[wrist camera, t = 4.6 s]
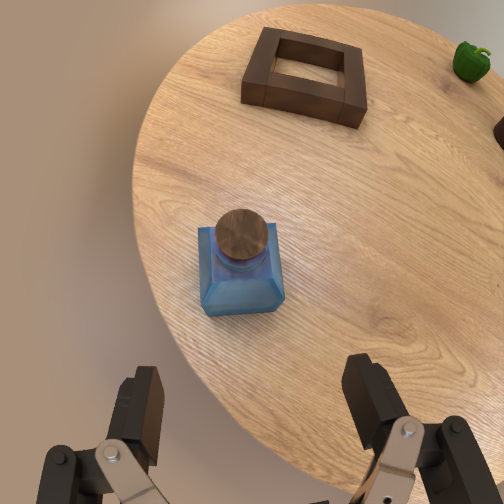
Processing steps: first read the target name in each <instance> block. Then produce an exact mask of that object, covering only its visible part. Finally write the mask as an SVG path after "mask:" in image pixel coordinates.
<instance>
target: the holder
mask: <svg viewBox="0 0 504 504" xmlns="http://www.w3.org/2000/svg"><path fill="white" fill-rule="evenodd" d="M277 57H280V58H285V59H290V60H295V61H300V62H305V63H309V64H313V65H318V66H322V67H326V68H330V69H333V70H337V71H338V87H337V86H333V85H329V84H325V83H321V82H317V81H313V80H309V79H304V78H300V77H295V76H290V75H285V74H280V73H275V72H273V70H274V67H275V63H276V60H277ZM241 103H243V104H250V105H255V106H261V107H267V108H272V109H277V110H282V111H287V112H292V113H296V114H301V115H305V116H309V117H314V118H318V119H322V120H326V121H330V122H333V123H337V124H341V125H344V126H348V127H351V128H355V129H358V127H359V125H360V123H361V121H362V119H363V117H364V115H365V113H366V111H367V99H366V87H365V76H364V66H363V57H362V49H360V48H357V47H353V46H350V45H347V44H343V43H339V42H335V41H332V40H328V39H324V38H320V37H315V36H311V35H306V34H302V33H297V32H292V31H286V30H281V29H275V28H269V27H264V28H263V30H262V32H261V35H260V37H259V39H258V42H257V44H256V47H255V49H254V51H253V54H252V56H251V59H250V61H249V64H248V66H247V69H246V71H245V74H244V76H243V79H242V85H241Z"/></svg>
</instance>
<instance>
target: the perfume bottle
mask: <svg viewBox="0 0 504 504" xmlns="http://www.w3.org/2000/svg"><path fill="white" fill-rule="evenodd" d="M198 248H199V274H200V295H201V306H202V308H203V309H204V311H205V313H206V314H207V316H223V315H237V314H250V313H262V312H274V311H275V310H276V309H277V308H278V307H279V306H280V305H281V303H282V302H283V301H284V300H285V296H284V287H283V278H282V270H281V262H280V254H279V246H278V238H277V230H276V223H266V222H265V221H264V219H263V218H262V217H261V216H260V215H258V214H257V213H256V212H253V211H251V210H248V209H236V210H232V211H230V212H228V213H226V214H224V215H223V216H222V217H221V218H220V219H219V221H218V223H217V225H216V227H202V228H198Z"/></svg>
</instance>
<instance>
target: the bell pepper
mask: <svg viewBox="0 0 504 504" xmlns="http://www.w3.org/2000/svg"><path fill="white" fill-rule="evenodd" d="M481 52H486V53H487V54H488V56H489V55H491V53H490V52H489V51H488V50H487V49H485V48H479V49H477V47H476V46H473V45H470V44H469V43H467V42H466V41H464V42H463V43H461V44H459V46H458V48H457V49H456V52H455V56H454V60H453V66H454V71H455V72H456V73H457V75H458V76H460V77H461V78H462V79H464V80H466V81H470V82H471V83H474V82H477V81H478V80H480V79H481V78H482V77H483V76H485V75H486V74H487V72H488V71H489V69H490V59H489V58H488V57H486V56H485V55H483V54H481Z"/></svg>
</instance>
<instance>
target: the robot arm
mask: <svg viewBox="0 0 504 504" xmlns="http://www.w3.org/2000/svg"><path fill="white" fill-rule="evenodd" d="M342 390H343V393H344V396H345V398H346V401H347V404H348V407H349V409H350V412H351V415H352V417H353V420H354V423H355V426H356V429H357V431H358V434H359V437H360V440H361V443H362V445H363V448H364V450H367V449H371V448H373V451H374V455H373V457H372V459H371V462H370V464H369V466H368V468H367V471H366V473H365V475H364V477H363V479H362V482H361V484H360V486H359V488H358V490H357V491H356V493H355V495H354V496H353V498H352V499H351V501H350V503H349V504H407V502H408V499H409V497H410V494H411V491H412V488H413V485H414V482H415V475H414V474H413V472H414V468H415V467H418V469H419V472H420V475H421V478H422V481H423V484H424V487H425V490H426V493H427V496H428V499H429V502H430V504H503V502H502V499H501V497H500V494H499V492H498V489H497V487H496V484H495V482H494V479H493V477H492V474H491V472H490V470H489V467H488V465H487V463H486V461H485V458H484V456H483V454H482V452H481V450H480V448H479V445H478V443H477V441H476V439H475V437H474V435H473V433H472V431H471V429H470V427H469V425H468V423H467V422H466V420H465V419H463V418H462V417H460V416H449V417H447V418H446V419H445V420H444V421H443V423H438V424H424V423H422V422H421V421H420V420H418V419H417V418H415V417H412V416H410V415H409V413H408V412H407V410H406V408H405V406H404V404H403V402H402V400H401V398H400V396H399V394H398V392H397V390H396V388H395V386H394V384H393V382H392V381H391V378H390V376H389V374H388V373H387V371H386V369H384V368H383V367H382V366H381V365H380V364H379V363H373V364H372V362H371V360H370V358H369V356H368V354H366V353H362V354H355V355H350V356H348V359H347V362H346V366H345V369H344V373H343V376H342ZM163 408H164V389H163V386H162V383H161V380H160V376H159V373H158V370H157V368H156V366H138V367H137V370H136V374H135V378H126V379H125V381H124V382H123V383H122V385H121V386H120V388H119V392H118V395H117V399H116V403H115V407H114V411H113V414H112V418H111V422H110V426H109V431H108V435H107V438H106V439H105V441H103V442H101V443H100V444H99V445H98V446H97V447H96V448H94V449H89V450H83V451H73V450H72V449H71V448H70V447H68V446H65V445H57V446H54V447H52V448H51V449H50V450H49V451H48V453H47V455H46V458H45V462H44V467H43V471H42V476H41V480H40V485H39V491H38V496H37V501H36V504H102V499H103V494H106V493H113V492H115V494H116V495H117V497H118V499H119V500H120V504H170V503H169V502H168V501H167V500H166V498H165V497H164V496H163V495H162V493H161V492H160V491H159V489H158V488H157V487H156V485H155V484H154V483H153V481H152V480H151V479H150V477H149V476H148V468H149V466H157V458H158V448H159V439H160V431H161V423H162V415H163ZM311 504H329V501H328V500H327V501H322V502H317V503H311Z"/></svg>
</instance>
